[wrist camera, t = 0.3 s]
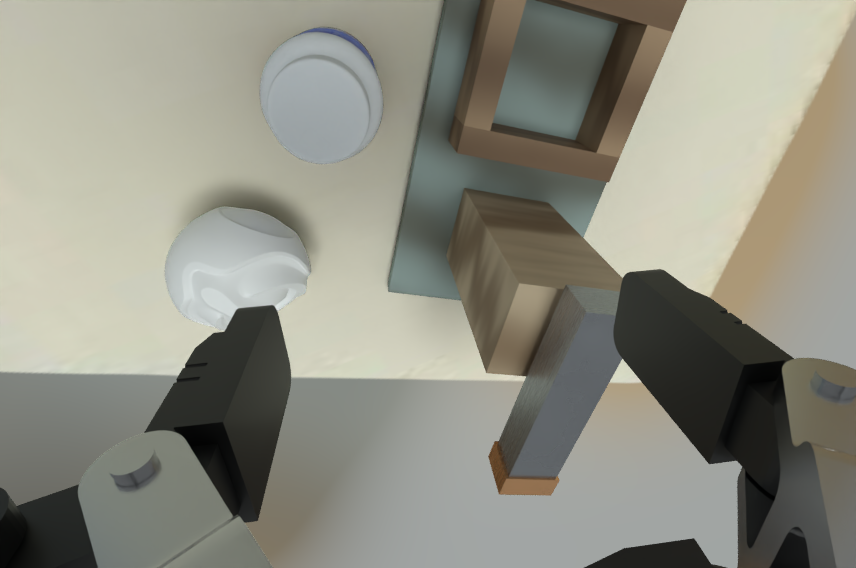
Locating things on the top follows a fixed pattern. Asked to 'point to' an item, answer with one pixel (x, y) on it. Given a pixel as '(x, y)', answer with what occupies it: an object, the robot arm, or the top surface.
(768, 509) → the robot arm
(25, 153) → the top surface
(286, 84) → the pill bottle
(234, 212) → the white rounded piece
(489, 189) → the socket board
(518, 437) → the bar
